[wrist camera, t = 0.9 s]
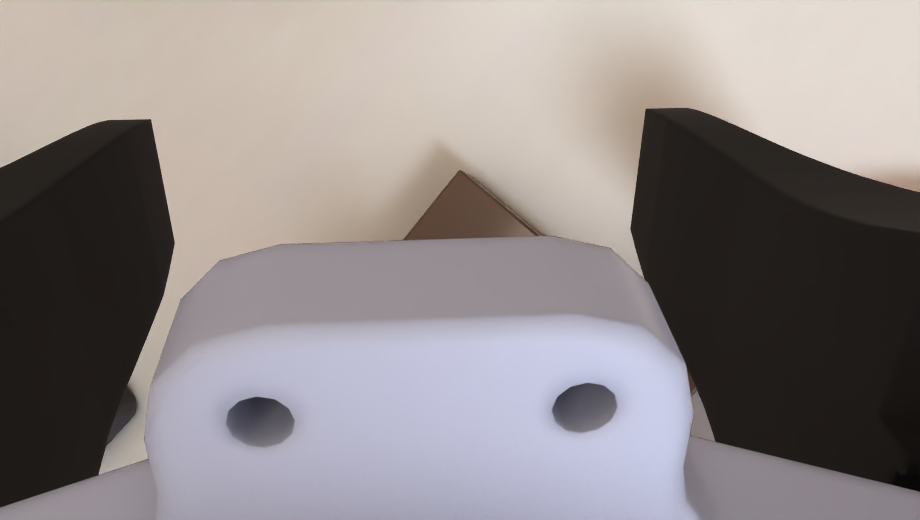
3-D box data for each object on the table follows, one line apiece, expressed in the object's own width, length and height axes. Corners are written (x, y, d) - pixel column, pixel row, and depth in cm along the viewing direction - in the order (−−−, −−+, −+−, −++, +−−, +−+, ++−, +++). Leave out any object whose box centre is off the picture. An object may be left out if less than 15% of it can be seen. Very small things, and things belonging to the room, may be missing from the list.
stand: (707, 373, 24) (714, 390, 20) (503, 605, 25) (462, 676, 21) (468, 174, 26) (421, 145, 22) (288, 398, 27) (204, 418, 23)
